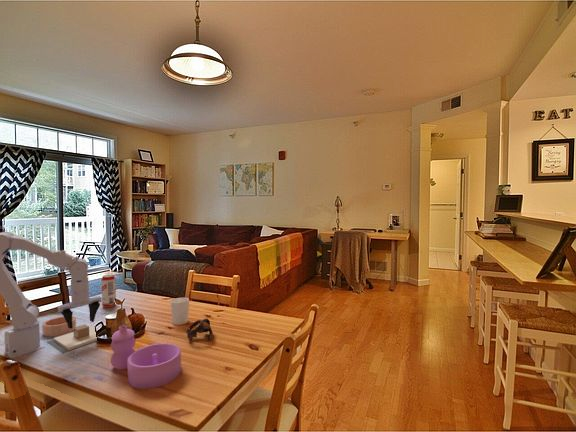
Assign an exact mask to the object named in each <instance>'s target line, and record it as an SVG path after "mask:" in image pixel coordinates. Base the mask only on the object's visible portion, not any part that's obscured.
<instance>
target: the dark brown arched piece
mask: <svg viewBox="0 0 576 432" xmlns="http://www.w3.org/2000/svg"><path fill="white" fill-rule="evenodd" d="M185 333H186V335H187V336H186V337H187V339H189V340H190V339H192V338H196V339H197V338H198V333H199V334H203V333H209V335H208V338H209V339H210V341H212V340H213V339H214V337H215V335H214V333H213V330H212V327H211V322H210V320H209V319H208V318H203V319H198V320H195V321H194V322H192V323H191V324H190V325H189V326H188V328H187V329H186V331H185Z"/></svg>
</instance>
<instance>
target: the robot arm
mask: <svg viewBox="0 0 576 432" xmlns="http://www.w3.org/2000/svg"><path fill="white" fill-rule="evenodd" d="M9 251H24V252H28V253H31V254H33V255H36V256H38V257H41V258H44V259H46V260H47V263H48V264H49V265H51V266H54V267H56V268H57V269H58V268H59V269H61V270H64V271H66V272H67V271H68V272H69V274H70V278H71V279H70V295H71V296H70V298H71V301H70V302H67V303H64V304H61V305H58V306H57V312H58V313H60V314H61V315H62V317H63V316H64V318H65V320H66V322H67V325H68V328H70V329H71V328H72V316H73V311H72V310H73V309H76V308H79V307H84V306H87V305H88V311H89V321H90V322H92V323H94V322H95V319H96V314H97V312H98V310H99V309H100V306H101V303H102V296H100V295H99V296H95V297H94V296H93V297H90V286H89V285H90V284H89V272H88V270H89V269H88V268H89V263H88V261H86V260H85V259H84V258H79V257H78V256H73V255H71V254H69V253H66V252H67V251H66V250H64V249H62V250H59V249H56V250H51V249H49V248H47V247H45V246H42V245H41V244H38V243H36V242H34V241H32V240H30V239H27V238H26V237H23V236H21V235H19V234H13V233H12V232H9V231H1V232H0V295H1V298H3V300H4V301H5V303H6V305H7V306H8V314H9V316H10V318H11V326H12V329H10V330H9V329H8V330H5V332H4V353H5V354H6V355H7V356H8V357H9V358H10V359H14V358H16V357H20V356H23V355H26V354H29V353H33V352H35V351H38V350H42V349H45V346H44V345H43V344H41V337H40V336H41V335H40V321H38V320H39V319H37V318H38V316H39V315H40V308H39V307H38V306H37V305H35V304H34V303H32V301H31V300H30V299H28V298H27V297H26V296H25V294H24V293H23V291H22V290H21V288H20V286H19V285H18V283H17V281H16V280H15V279H14V277H13V276H12V274H11V272H10V271H9V269H8V268H7V266H6V264H5V263H4V261H3V259H4V258H5V256H6V255H7V253H8V252H9Z"/></svg>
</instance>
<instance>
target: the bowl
mask: <svg viewBox="0 0 576 432" xmlns="http://www.w3.org/2000/svg"><path fill="white" fill-rule="evenodd" d="M41 327H42V336H44V337H59V336H62V335H65V334H68V333H72V332H73V328H75V327H77V317H75V316H73V315H72V328H71V329H70V328H68V325H67V322H66V320H65V318H64V316H63V315H62V316H57V317H54V318H50V319H48V320H46V321H44V322H43V323H42V324H41Z"/></svg>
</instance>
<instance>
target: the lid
mask: <svg viewBox="0 0 576 432" xmlns="http://www.w3.org/2000/svg"><path fill="white" fill-rule="evenodd" d="M95 327H96V326H94V325H91V326H88V325H87V324H82V325H78V326H76V327H75V328H73V331H71V332H69V333H66V334H63V335H59V336H54V337H53V340H54V341H55V342H57V343H58V344H59V345H61V346H62V347H64V348H65V349H67V350H71V349H74V348H77V347H80V346H83V345H86V344H89V343H91V342H94V341H97V337H96V332H95ZM97 330H99V329H98V328H97ZM89 345H90V344H89ZM86 346H87V345H86ZM83 347H84V346H83Z"/></svg>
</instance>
